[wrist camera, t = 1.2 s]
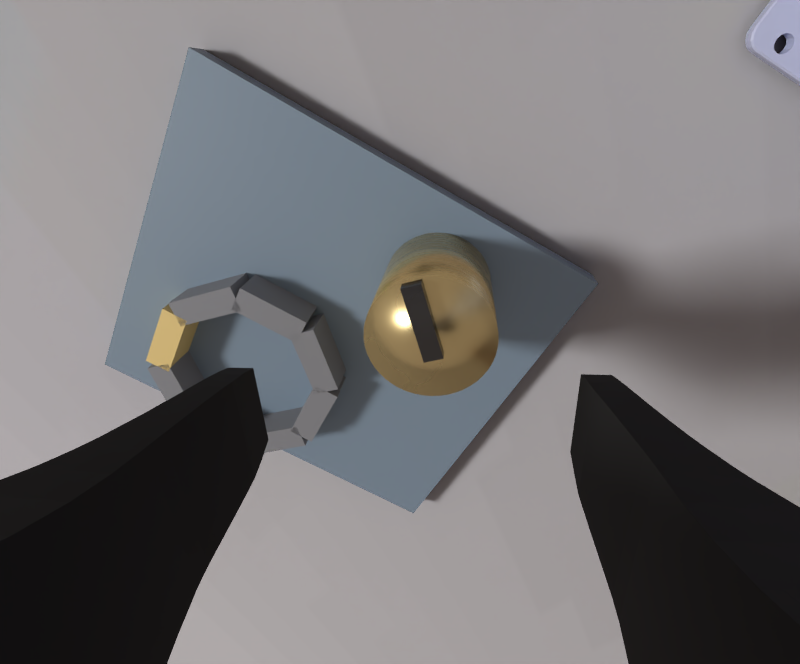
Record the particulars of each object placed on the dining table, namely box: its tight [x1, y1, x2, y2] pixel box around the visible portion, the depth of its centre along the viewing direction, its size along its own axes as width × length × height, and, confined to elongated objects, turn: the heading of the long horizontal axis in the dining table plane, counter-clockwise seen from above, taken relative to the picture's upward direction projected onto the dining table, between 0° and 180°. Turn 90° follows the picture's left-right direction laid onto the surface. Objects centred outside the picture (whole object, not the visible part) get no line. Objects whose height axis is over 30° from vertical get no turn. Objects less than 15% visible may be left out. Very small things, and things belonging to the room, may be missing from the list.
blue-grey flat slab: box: [105, 47, 598, 513], centre depth 20 cm, size 16×14×2 cm
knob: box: [364, 233, 499, 396], centre depth 16 cm, size 4×4×5 cm
